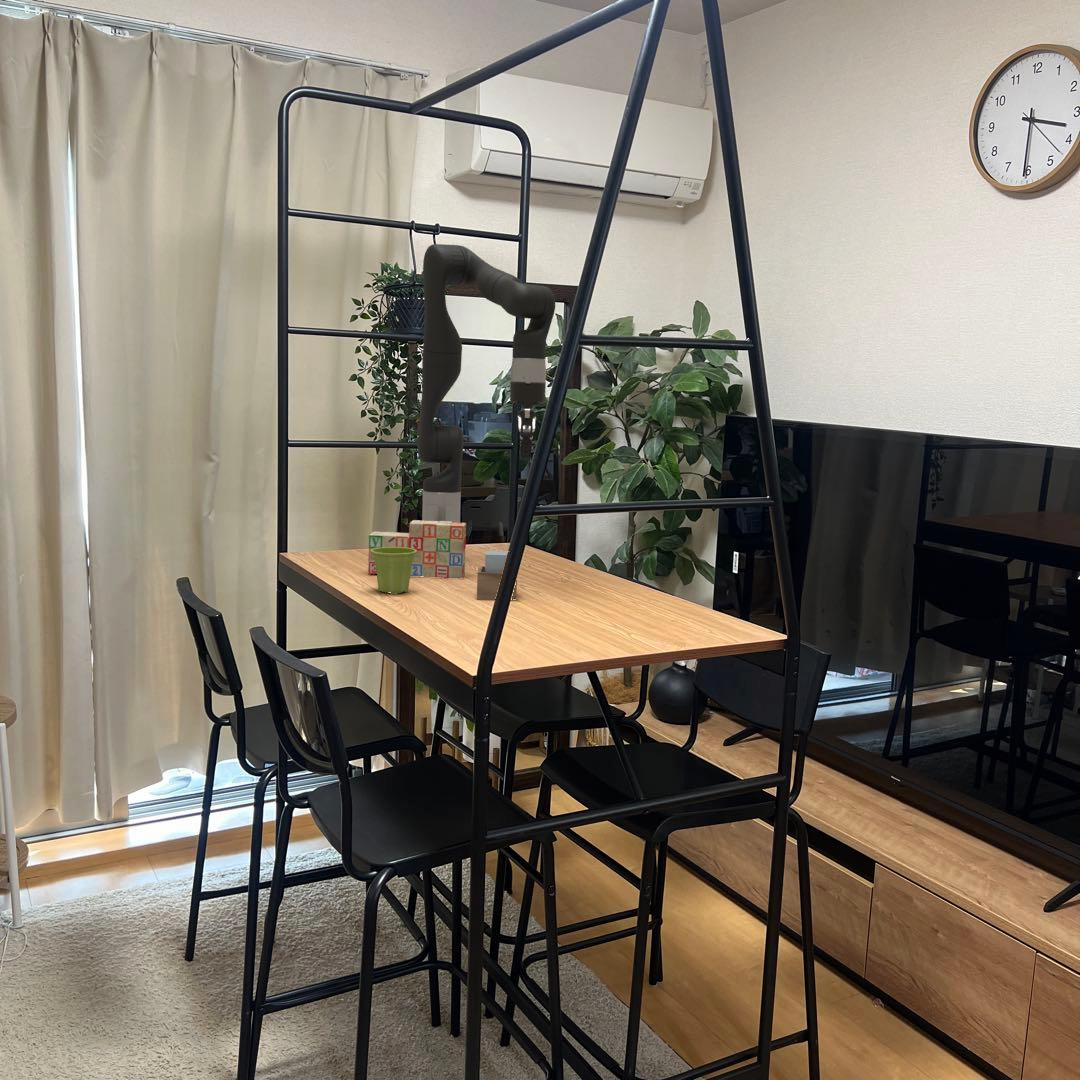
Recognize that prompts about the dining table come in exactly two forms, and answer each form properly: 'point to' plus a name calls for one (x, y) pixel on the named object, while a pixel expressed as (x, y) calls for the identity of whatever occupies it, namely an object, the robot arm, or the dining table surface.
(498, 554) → the bluegrey cube
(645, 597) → the dining table surface
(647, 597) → the dining table surface
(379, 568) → the plant pot
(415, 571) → the stack of blocks
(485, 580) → the walnut base
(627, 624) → the dining table surface
